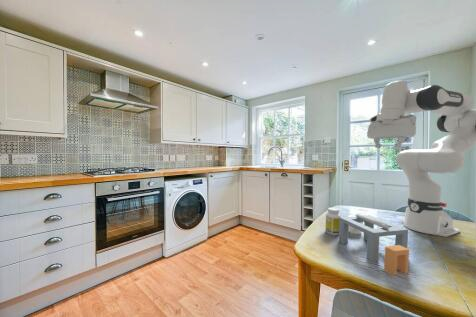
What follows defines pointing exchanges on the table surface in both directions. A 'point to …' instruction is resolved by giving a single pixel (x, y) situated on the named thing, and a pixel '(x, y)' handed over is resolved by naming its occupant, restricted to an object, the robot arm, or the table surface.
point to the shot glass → (353, 230)
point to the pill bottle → (332, 221)
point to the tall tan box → (396, 259)
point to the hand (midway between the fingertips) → (387, 147)
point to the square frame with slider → (372, 232)
